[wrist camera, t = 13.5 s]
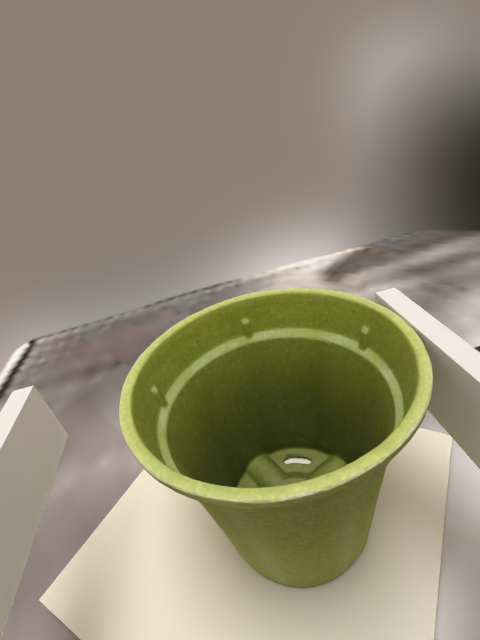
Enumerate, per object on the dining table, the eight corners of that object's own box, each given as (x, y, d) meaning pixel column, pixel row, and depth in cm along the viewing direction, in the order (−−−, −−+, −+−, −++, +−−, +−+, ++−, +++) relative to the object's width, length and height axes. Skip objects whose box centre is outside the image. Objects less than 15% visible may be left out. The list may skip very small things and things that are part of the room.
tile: (449, 451, 17) (452, 435, 17) (403, 944, 8) (406, 950, 7) (220, 390, 25) (216, 378, 24) (53, 611, 15) (39, 599, 15)
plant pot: (214, 428, 20) (168, 301, 16) (384, 419, 18) (386, 272, 14) (170, 635, 13) (54, 502, 8) (455, 657, 11) (510, 499, 6)
